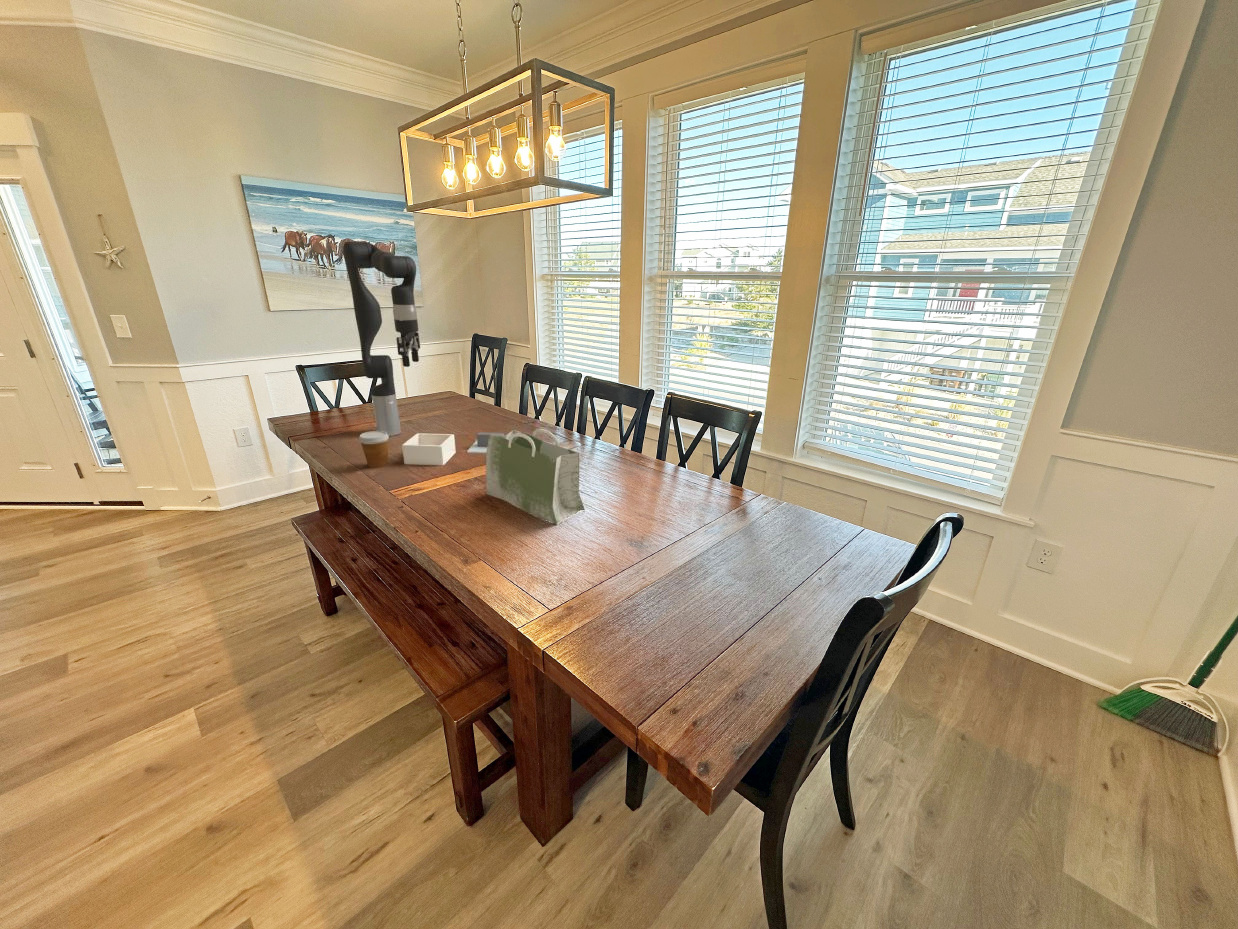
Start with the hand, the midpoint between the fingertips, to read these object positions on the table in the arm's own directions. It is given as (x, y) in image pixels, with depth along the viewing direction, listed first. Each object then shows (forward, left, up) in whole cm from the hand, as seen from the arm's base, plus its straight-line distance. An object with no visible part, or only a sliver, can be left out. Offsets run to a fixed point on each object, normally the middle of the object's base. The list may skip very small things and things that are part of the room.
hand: (411, 364), depth 176 cm
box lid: (-7, +25, -35) cm, 43 cm away
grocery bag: (+40, +50, -35) cm, 73 cm away
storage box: (+7, +6, -34) cm, 36 cm away
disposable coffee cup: (+15, -10, -35) cm, 39 cm away
